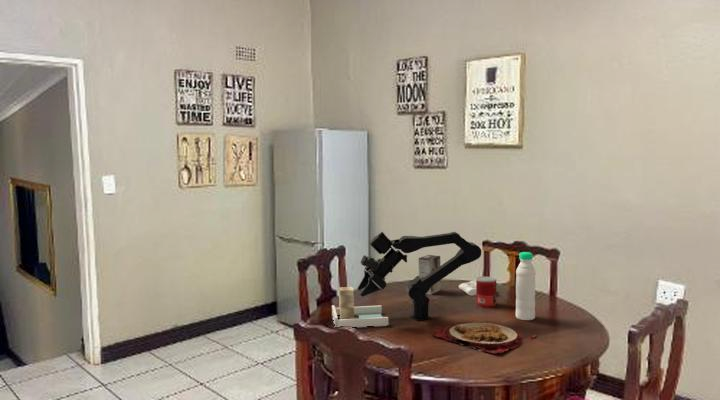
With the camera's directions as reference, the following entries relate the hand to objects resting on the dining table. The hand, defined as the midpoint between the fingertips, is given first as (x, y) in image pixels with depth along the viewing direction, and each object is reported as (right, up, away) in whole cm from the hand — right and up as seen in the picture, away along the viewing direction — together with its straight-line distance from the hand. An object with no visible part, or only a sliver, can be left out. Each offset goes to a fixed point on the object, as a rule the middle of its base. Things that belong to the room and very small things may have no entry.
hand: (359, 292), depth 201 cm
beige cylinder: (-5, -11, 0) cm, 12 cm away
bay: (0, -11, +1) cm, 11 cm away
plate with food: (+42, -13, -19) cm, 48 cm away
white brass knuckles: (+54, -7, +40) cm, 67 cm away
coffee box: (+32, -7, +41) cm, 52 cm away
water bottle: (+63, -10, 0) cm, 63 cm away
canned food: (+52, -8, +19) cm, 56 cm away
